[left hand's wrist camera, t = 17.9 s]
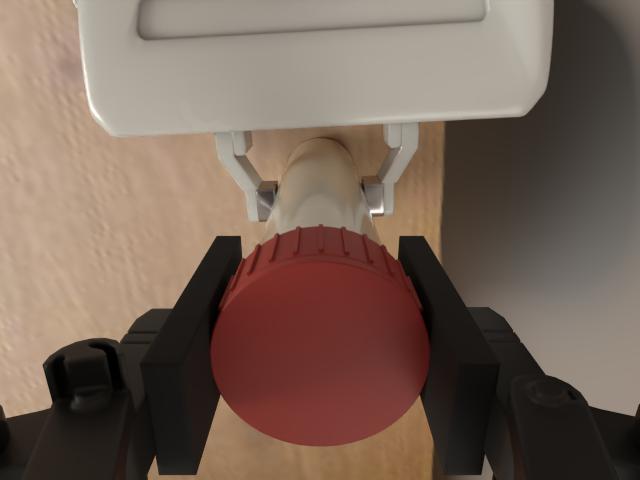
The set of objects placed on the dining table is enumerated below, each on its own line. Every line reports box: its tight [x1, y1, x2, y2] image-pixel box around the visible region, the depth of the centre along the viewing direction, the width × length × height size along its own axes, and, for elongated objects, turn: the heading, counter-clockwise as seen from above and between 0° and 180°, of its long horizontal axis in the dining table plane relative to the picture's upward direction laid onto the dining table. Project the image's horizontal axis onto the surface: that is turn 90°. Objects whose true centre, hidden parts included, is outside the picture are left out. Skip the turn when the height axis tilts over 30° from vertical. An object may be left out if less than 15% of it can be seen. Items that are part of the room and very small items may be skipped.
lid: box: [210, 224, 430, 446], centre depth 11 cm, size 5×5×2 cm
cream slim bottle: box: [259, 138, 382, 246], centre depth 20 cm, size 4×4×19 cm
